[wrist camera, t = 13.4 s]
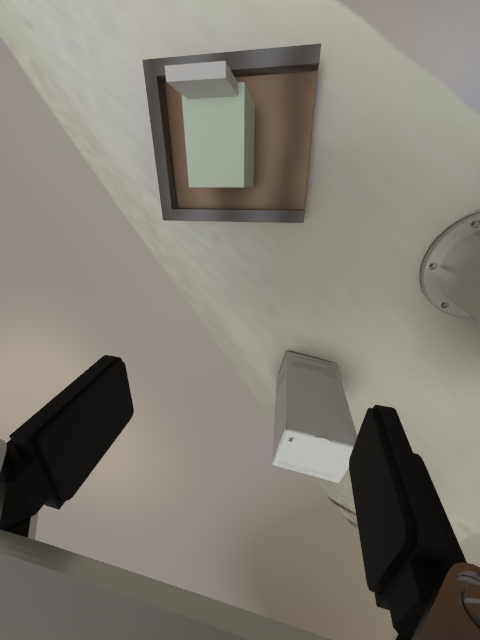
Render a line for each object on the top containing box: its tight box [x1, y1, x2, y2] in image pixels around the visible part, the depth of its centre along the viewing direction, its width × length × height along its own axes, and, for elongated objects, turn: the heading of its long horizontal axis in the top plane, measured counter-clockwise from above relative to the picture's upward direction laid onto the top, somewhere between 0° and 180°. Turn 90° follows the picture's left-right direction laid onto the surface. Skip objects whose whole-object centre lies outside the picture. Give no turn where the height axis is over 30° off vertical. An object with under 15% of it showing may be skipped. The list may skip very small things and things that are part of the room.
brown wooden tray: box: [143, 44, 321, 223], centre depth 29 cm, size 16×14×5 cm
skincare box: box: [272, 351, 357, 483], centre depth 36 cm, size 8×7×16 cm
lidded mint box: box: [165, 61, 255, 187], centre depth 23 cm, size 5×7×11 cm
